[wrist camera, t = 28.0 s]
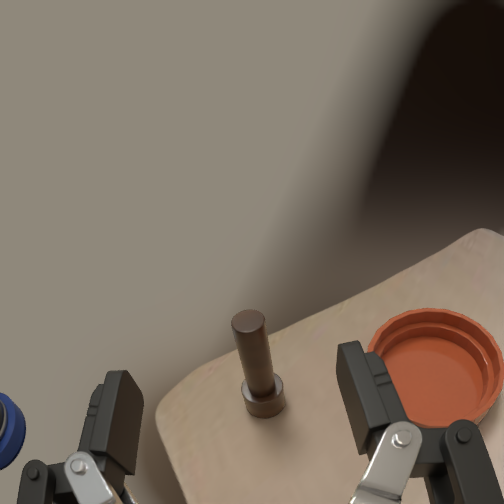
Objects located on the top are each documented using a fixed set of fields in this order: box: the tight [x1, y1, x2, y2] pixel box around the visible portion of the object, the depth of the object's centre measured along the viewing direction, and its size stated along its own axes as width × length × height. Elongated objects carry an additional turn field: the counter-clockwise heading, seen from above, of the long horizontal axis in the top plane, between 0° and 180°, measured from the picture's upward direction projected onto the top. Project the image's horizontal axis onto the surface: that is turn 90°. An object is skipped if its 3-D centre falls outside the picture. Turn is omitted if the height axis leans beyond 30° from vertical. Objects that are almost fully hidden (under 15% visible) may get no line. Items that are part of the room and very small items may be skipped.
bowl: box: [367, 308, 504, 428], centre depth 28 cm, size 15×15×4 cm
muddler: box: [231, 310, 285, 418], centre depth 28 cm, size 4×4×12 cm
